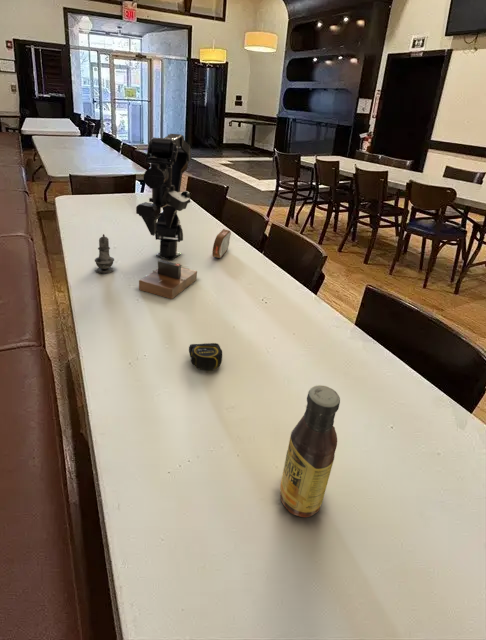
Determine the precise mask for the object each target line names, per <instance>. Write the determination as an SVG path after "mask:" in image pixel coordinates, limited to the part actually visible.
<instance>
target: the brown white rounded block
mask: <svg viewBox="0 0 486 640" xmlns="http://www.w3.org/2000/svg"><path fill="white" fill-rule="evenodd" d="M231 235H232V232H231V231H230V229H229V230H228V229H225V228H223V229H222V230H220V231H219V233H218V234H217V235H216V237H215V239H214V242H213V245H212V251H211V252H212V253H211V255H212V257H213V258H216V259H217V258H218V259H221V258H222V257H223V256H224V255H225V254H226V252H227V251H228V249H229V246H230V240H231Z"/></svg>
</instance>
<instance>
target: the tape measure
mask: <svg viewBox="0 0 486 640" xmlns="http://www.w3.org/2000/svg"><path fill="white" fill-rule="evenodd" d="M188 353H189V358H190V361H191V364H192V366H193V367H195V368H196V369H198V370H202V371H212V370H215V369H218V368H220V366H221V364H222V362H223V349H222V348H221V346H220V344H219V343H216V342H208V343H191V344H189V346H188Z"/></svg>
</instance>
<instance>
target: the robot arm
mask: <svg viewBox="0 0 486 640" xmlns="http://www.w3.org/2000/svg"><path fill="white" fill-rule="evenodd" d="M191 159H192V151H191V145H190V144H189V143H188V142H187V141H186V140H185V137H184V135H182V134H181V133H180V134H179V133H168V134H167V135H166V136H165V137H152V138H151V140H149V142H148V146H147V150H146V157H145V163H146V164H150V167H149V168H148V169H146V170H145V172H144V174H143V182H144V184H145V185H146V186H147V187H148V188H149V189H151V190H152V191H151V197H150V198H148V202H147V201H144V202H141V203H139V204H137V206H136V207H135V210H136V211H135V214H136V215H138V216H139V217H141V218H142V220H143V222H144V224H145V225H146V228H147V230H148V233H149V234H150V236H152V237H153V236H155V238H154V239H155V240H156V241H157V240H159V252H158V253H156V254H155V256H156V257H159V258H161V259H162V258H163V259H167V260H171V261H172V260H175V259H176V258H178V257H179V256H181V252H178V243H180V242H182V241H184V231H183V227H182V224H181V220H180V218H179V216H178V212H182V211H183V210H186V209H187V207H188V204H190V203H191V192H189V191H188V190H184V191H182V192H181V186H182V178H183V174H184V173H185V172H186V171H187V170H188V168H189V163H190V162H191Z"/></svg>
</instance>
